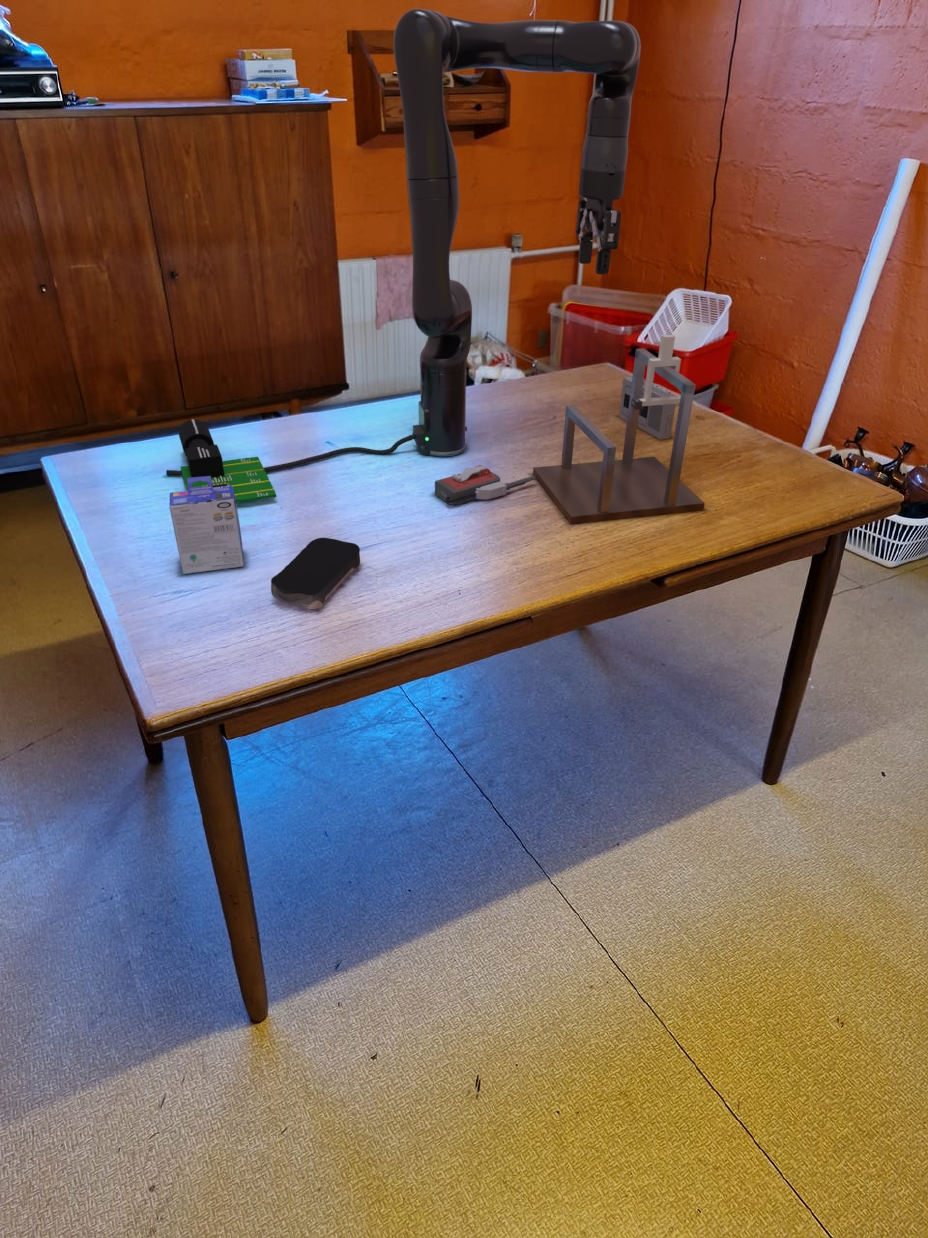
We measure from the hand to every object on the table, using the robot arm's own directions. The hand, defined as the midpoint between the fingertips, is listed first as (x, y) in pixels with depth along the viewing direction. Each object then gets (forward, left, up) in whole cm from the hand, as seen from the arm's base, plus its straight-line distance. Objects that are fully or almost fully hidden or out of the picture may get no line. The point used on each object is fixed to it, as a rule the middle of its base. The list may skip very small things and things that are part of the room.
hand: (592, 268), depth 152 cm
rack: (+3, -13, -38) cm, 40 cm away
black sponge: (-55, -35, -38) cm, 76 cm away
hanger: (+10, -13, -21) cm, 27 cm away
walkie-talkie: (-21, -8, -38) cm, 44 cm away
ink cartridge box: (-71, -25, -38) cm, 84 cm away
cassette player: (+23, +17, -38) cm, 48 cm away
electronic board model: (-69, +9, -38) cm, 79 cm away
